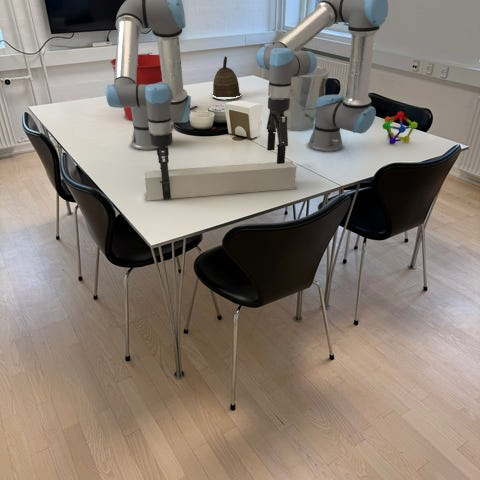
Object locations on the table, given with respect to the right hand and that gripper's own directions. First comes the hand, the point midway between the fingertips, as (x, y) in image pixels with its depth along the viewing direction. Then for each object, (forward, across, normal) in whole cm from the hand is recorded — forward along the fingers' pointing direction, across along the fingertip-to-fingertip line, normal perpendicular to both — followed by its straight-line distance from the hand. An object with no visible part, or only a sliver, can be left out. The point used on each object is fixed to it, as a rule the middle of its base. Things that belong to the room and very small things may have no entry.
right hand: (275, 156), depth 162 cm
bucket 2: (+11, +72, -31) cm, 79 cm away
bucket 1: (+12, +104, +45) cm, 114 cm away
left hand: (+12, 0, +40) cm, 42 cm away
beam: (+12, 0, +20) cm, 24 cm away
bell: (+11, +135, -5) cm, 135 cm away
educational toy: (+11, +37, -70) cm, 80 cm away
